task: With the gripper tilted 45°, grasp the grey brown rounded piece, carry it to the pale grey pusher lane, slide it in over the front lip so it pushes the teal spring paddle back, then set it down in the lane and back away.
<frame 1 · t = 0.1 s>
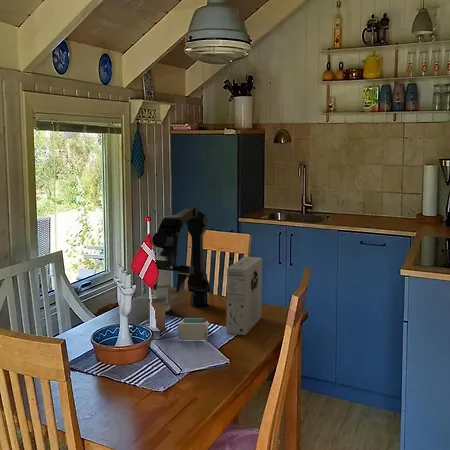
hand: (166, 291, 205), 15 cm above the table, tool pointing down, fingers open, 9 cm apart
cereal box: (244, 325, 214), on the table
pusher paddle: (193, 325, 202), point 4 cm above the table, slide at 0.0 cm
pusher lane: (193, 337, 201), on the table
grey brown rounded piece: (157, 329, 209), on the table
bath foam: (161, 310, 232), on the table
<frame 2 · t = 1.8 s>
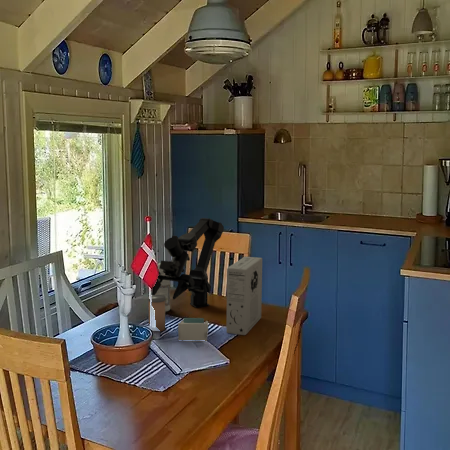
hand: (163, 297, 211), 11 cm above the table, tool tilted 45°, fingers open, 9 cm apart
nothing on the table moved.
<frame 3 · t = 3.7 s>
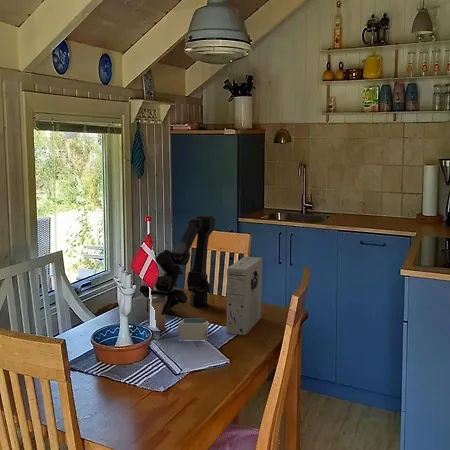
hand: (154, 313, 207), 7 cm above the table, tool tilted 45°, fingers closed on grey brown rounded piece, 6 cm apart
grey brown rounded piece: (157, 329, 209), on the table, touching gripper
everything else where it was.
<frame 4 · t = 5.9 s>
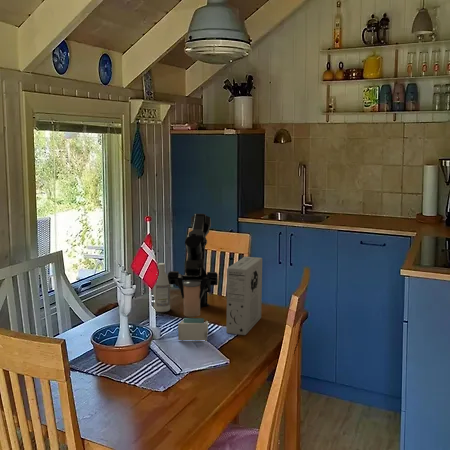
hand: (191, 298, 204), 13 cm above the table, tool tilted 45°, fingers closed on grey brown rounded piece, 6 cm apart
grey brown rounded piece: (191, 314, 206), point 7 cm above the table, touching gripper
everything else where it was.
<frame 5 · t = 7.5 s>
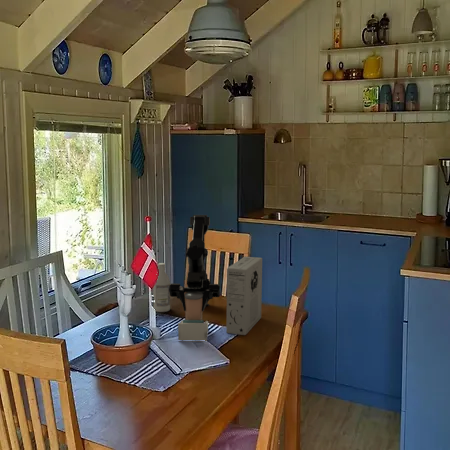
hand: (193, 310, 201), 9 cm above the table, tool tilted 45°, fingers closed on grey brown rounded piece, 6 cm apart
pusher paddle: (193, 327, 199), point 4 cm above the table, slide at 2.3 cm, touching grey brown rounded piece
grey brown rounded piece: (193, 326, 204), point 3 cm above the table, touching gripper, pusher paddle
everything else where it was.
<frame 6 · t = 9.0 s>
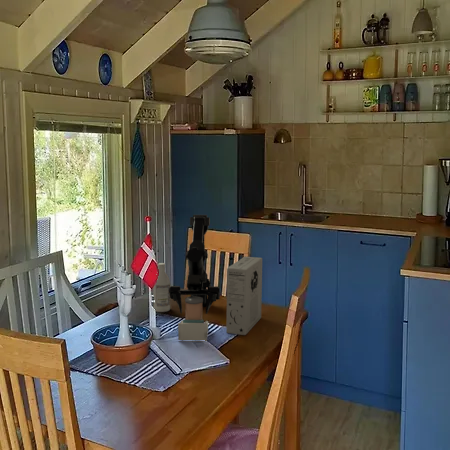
hand: (193, 313, 201), 9 cm above the table, tool tilted 45°, fingers open, 9 cm apart
grey brown rounded piece: (194, 331, 204), point 1 cm above the table, touching pusher lane, pusher paddle
everything else where it was.
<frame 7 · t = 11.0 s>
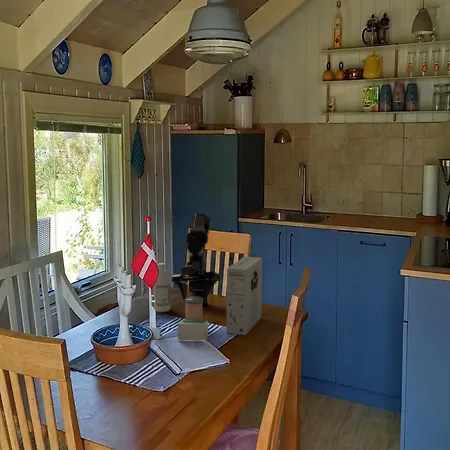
hand: (194, 299, 212), 10 cm above the table, tool tilted 25°, fingers open, 9 cm apart
nothing on the table moved.
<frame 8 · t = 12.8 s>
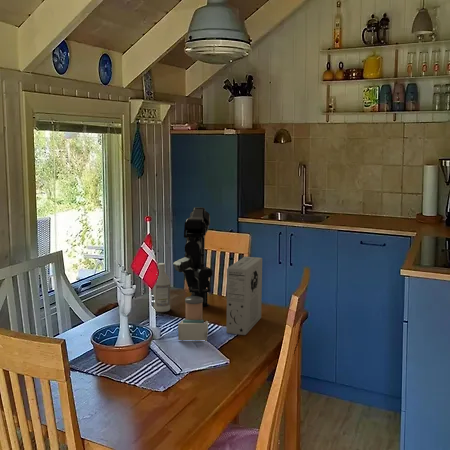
hand: (194, 289, 216), 13 cm above the table, tool pointing down, fingers open, 9 cm apart
nothing on the table moved.
at the end: grey brown rounded piece 0.4 cm from the target spot on the pusher lane, point 1.0 cm above the pusher lane's base; grey brown rounded piece tilted 0°; pusher paddle slide at 2.0 cm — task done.
